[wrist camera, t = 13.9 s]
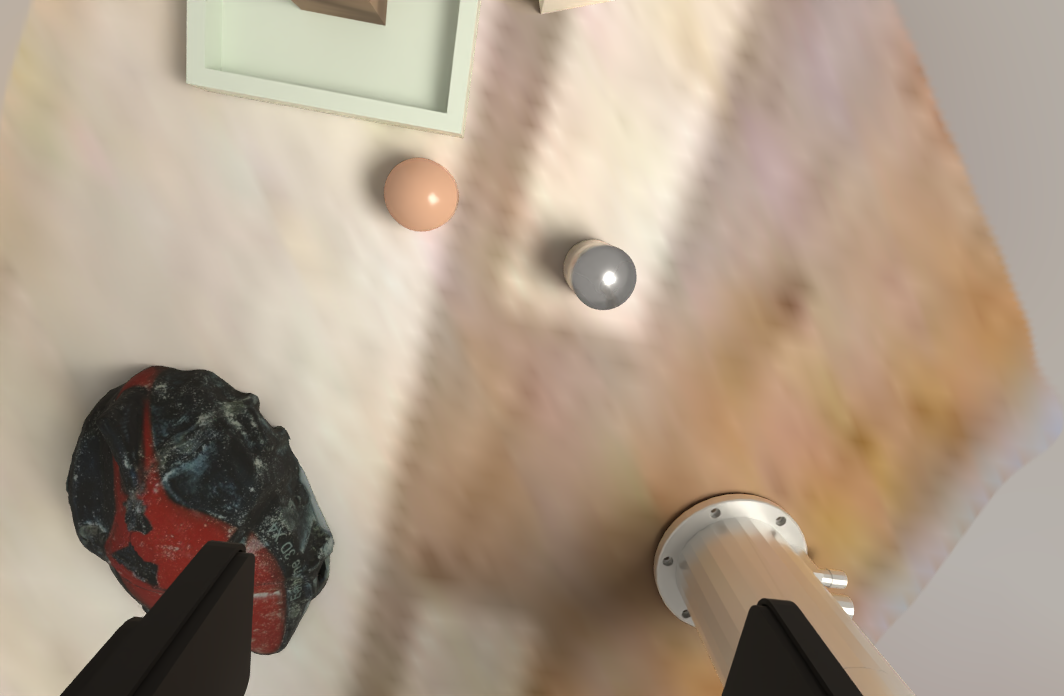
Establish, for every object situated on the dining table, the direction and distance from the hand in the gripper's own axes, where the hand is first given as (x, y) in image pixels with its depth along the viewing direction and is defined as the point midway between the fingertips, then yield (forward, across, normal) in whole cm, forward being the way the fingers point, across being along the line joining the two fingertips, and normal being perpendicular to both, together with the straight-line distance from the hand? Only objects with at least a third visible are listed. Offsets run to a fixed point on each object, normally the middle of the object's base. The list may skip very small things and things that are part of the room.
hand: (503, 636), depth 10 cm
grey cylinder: (+30, -6, -4) cm, 31 cm away
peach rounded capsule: (+30, +6, -7) cm, 32 cm away
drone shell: (+31, +19, +19) cm, 41 cm away
